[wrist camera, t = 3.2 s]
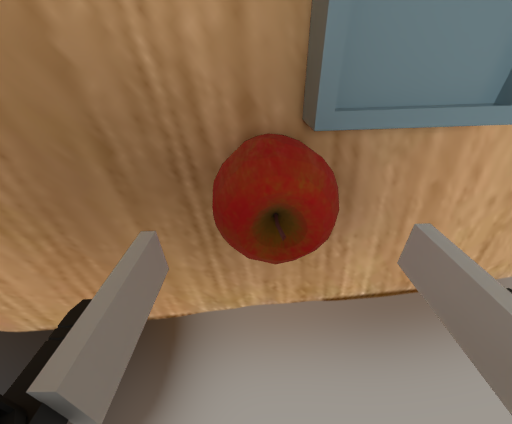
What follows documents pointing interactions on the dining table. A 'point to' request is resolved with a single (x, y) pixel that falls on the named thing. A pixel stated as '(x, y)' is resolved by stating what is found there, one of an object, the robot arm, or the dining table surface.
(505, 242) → the dining table surface
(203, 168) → the dining table surface
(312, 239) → the apple
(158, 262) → the robot arm
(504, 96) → the blue square tray
